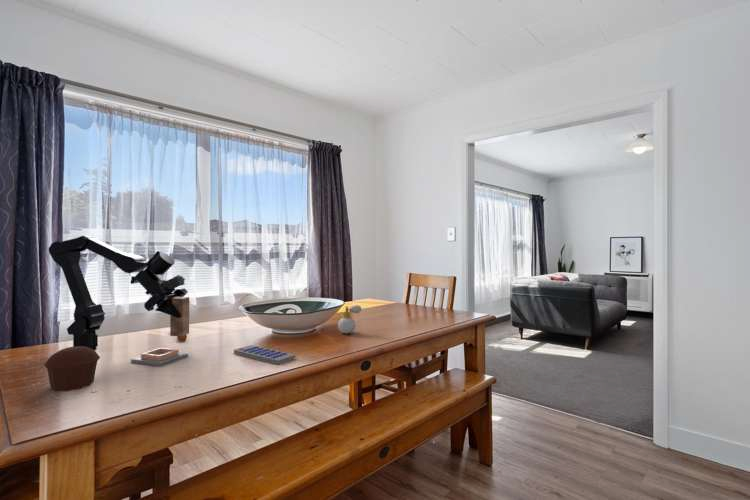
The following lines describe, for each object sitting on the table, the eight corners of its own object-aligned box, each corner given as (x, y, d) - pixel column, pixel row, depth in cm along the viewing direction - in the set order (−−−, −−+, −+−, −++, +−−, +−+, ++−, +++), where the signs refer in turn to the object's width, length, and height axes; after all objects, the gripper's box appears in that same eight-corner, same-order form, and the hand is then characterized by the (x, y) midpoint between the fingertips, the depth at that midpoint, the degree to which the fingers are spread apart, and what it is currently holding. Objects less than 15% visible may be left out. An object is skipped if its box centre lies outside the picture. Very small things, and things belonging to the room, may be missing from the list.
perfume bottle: (334, 332, 167) (334, 305, 167) (353, 329, 173) (353, 303, 172) (343, 336, 161) (344, 307, 161) (363, 333, 167) (363, 305, 167)
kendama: (172, 332, 148) (168, 319, 165) (175, 346, 149) (171, 332, 166) (189, 327, 151) (184, 315, 168) (192, 342, 152) (186, 328, 169)
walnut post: (170, 335, 134) (170, 298, 134) (176, 332, 139) (177, 296, 138) (182, 336, 134) (183, 298, 134) (189, 333, 139) (189, 297, 138)
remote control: (277, 366, 123) (277, 359, 123) (231, 354, 135) (231, 348, 135) (295, 360, 129) (295, 353, 129) (249, 349, 141) (249, 343, 141)
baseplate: (131, 362, 123) (131, 354, 123) (159, 353, 134) (159, 345, 134) (160, 366, 120) (160, 358, 120) (187, 356, 130) (187, 349, 130)
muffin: (54, 397, 95) (54, 356, 95) (37, 387, 101) (36, 349, 101) (107, 382, 105) (107, 346, 105) (89, 375, 111) (89, 340, 111)
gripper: (153, 270, 127) (186, 304, 127) (182, 266, 145) (211, 296, 145) (129, 293, 127) (162, 327, 127) (161, 287, 146) (190, 316, 146)
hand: (183, 315), depth 136 cm, fingers closed on walnut post, 4 cm apart
